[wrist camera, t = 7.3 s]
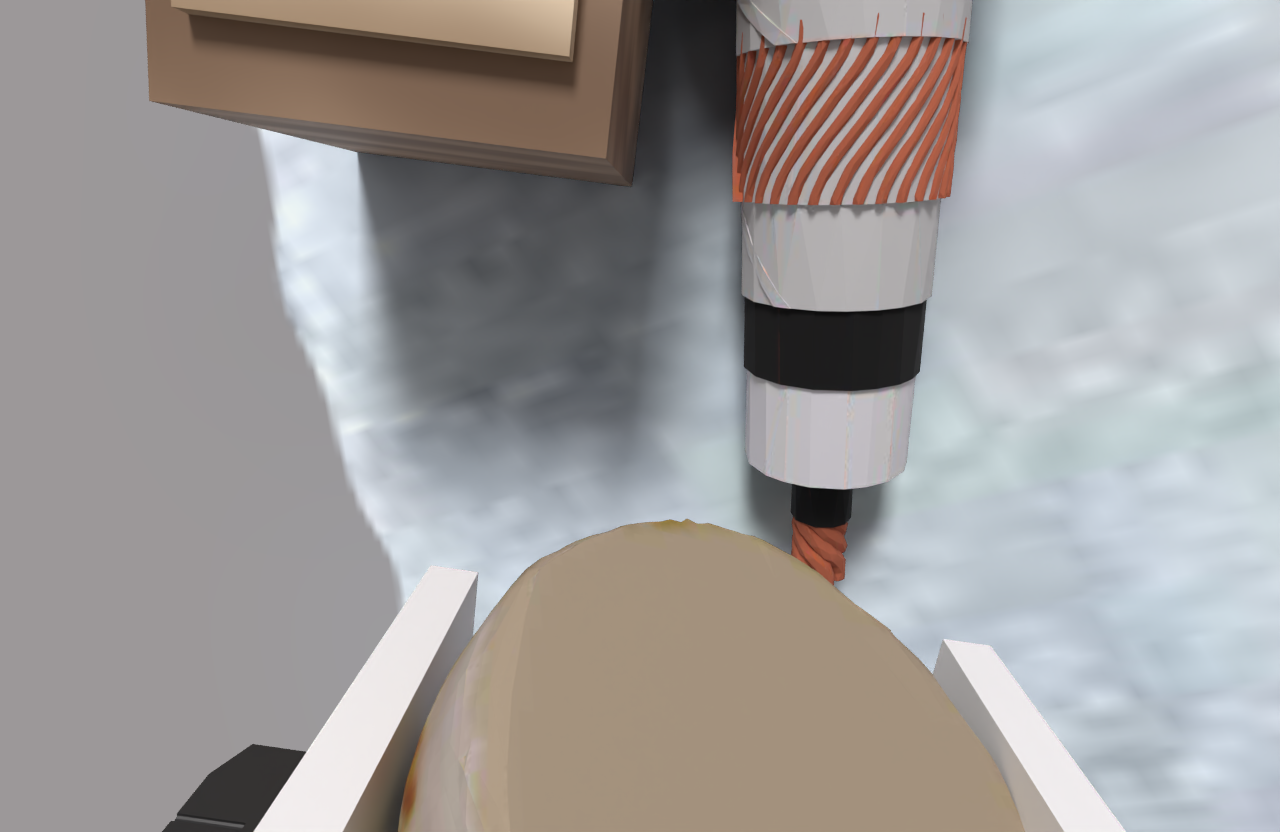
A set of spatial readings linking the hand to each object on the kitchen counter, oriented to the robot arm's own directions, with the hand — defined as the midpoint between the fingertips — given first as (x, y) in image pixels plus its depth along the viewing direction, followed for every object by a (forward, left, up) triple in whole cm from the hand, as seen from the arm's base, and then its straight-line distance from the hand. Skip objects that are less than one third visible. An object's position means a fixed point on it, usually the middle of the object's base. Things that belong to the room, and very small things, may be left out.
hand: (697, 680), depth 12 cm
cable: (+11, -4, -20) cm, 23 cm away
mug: (-2, +1, -1) cm, 2 cm away
